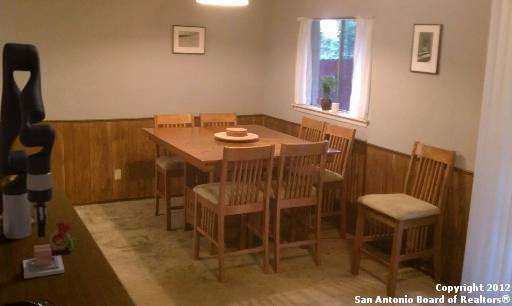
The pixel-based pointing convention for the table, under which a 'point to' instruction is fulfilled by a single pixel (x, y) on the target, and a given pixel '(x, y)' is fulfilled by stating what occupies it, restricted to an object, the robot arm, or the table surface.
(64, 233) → the bird rattle
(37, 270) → the socket plate
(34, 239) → the table surface
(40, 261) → the terracotta block
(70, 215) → the table surface
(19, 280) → the table surface
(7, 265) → the table surface
